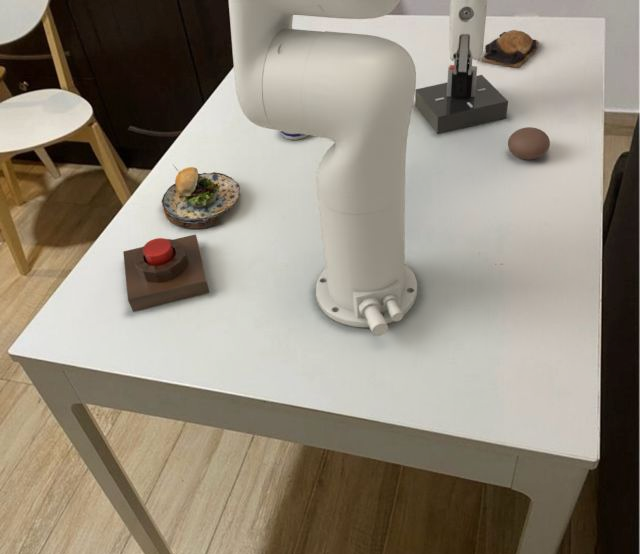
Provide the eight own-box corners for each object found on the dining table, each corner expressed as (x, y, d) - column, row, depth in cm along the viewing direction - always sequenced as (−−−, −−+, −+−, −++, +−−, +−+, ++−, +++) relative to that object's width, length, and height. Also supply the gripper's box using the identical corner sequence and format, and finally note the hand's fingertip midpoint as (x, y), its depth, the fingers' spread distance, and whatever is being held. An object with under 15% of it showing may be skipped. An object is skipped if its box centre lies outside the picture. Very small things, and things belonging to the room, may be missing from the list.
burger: (227, 232, 93) (216, 188, 88) (151, 226, 96) (136, 183, 90) (252, 183, 101) (244, 140, 95) (181, 179, 103) (169, 136, 98)
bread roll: (500, 38, 127) (502, 18, 125) (542, 45, 124) (545, 25, 121) (476, 61, 122) (478, 41, 119) (520, 69, 118) (523, 48, 115)
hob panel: (506, 118, 107) (508, 100, 105) (437, 134, 106) (438, 116, 103) (480, 91, 114) (481, 73, 112) (415, 105, 112) (415, 88, 110)
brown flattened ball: (553, 150, 100) (558, 126, 97) (537, 170, 97) (542, 146, 94) (516, 140, 102) (520, 117, 99) (499, 159, 99) (502, 135, 96)
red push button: (175, 262, 84) (172, 252, 83) (147, 269, 84) (143, 258, 82) (172, 245, 86) (169, 235, 85) (145, 252, 86) (141, 241, 85)
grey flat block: (475, 92, 108) (477, 64, 104) (474, 97, 107) (477, 68, 103) (447, 92, 108) (448, 64, 105) (446, 96, 108) (448, 68, 104)
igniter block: (209, 293, 85) (202, 269, 82) (132, 312, 84) (123, 289, 81) (199, 246, 92) (192, 223, 89) (128, 263, 90) (118, 240, 88)
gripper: (496, -7, 88) (483, 118, 102) (497, -48, 98) (485, 71, 112) (439, -6, 90) (434, 118, 103) (446, -46, 100) (441, 71, 113)
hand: (461, 93), depth 107 cm, fingers closed
